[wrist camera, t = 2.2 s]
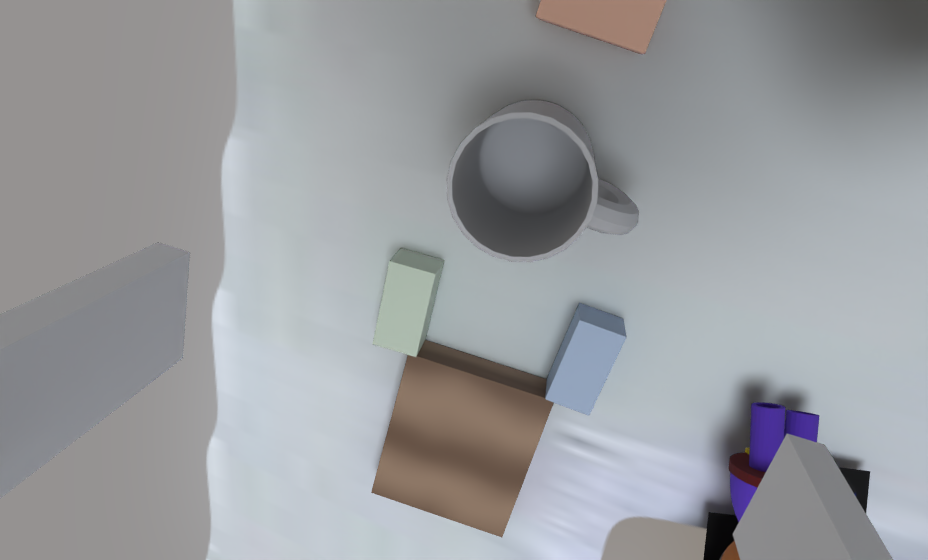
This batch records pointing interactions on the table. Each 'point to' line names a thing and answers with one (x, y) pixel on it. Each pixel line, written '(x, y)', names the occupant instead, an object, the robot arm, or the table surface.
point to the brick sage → (407, 301)
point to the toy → (753, 466)
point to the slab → (461, 437)
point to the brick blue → (585, 358)
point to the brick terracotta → (606, 19)
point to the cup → (532, 184)
